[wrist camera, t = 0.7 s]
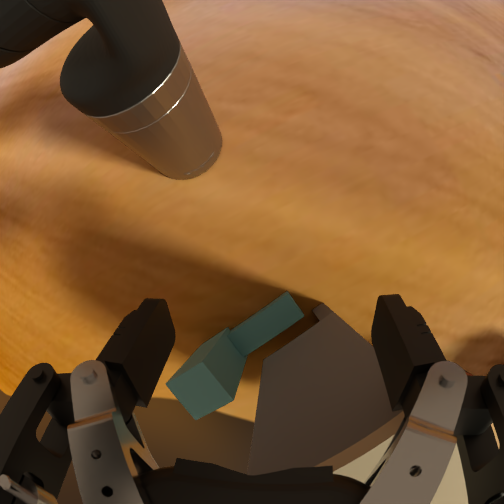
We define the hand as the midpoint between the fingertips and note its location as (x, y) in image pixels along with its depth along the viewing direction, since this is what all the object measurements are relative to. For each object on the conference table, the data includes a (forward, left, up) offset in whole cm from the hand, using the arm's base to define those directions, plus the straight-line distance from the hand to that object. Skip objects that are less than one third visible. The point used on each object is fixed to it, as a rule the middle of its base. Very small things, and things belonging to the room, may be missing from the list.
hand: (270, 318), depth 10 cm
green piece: (+3, -5, -22) cm, 23 cm away
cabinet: (+10, -1, -22) cm, 24 cm away
